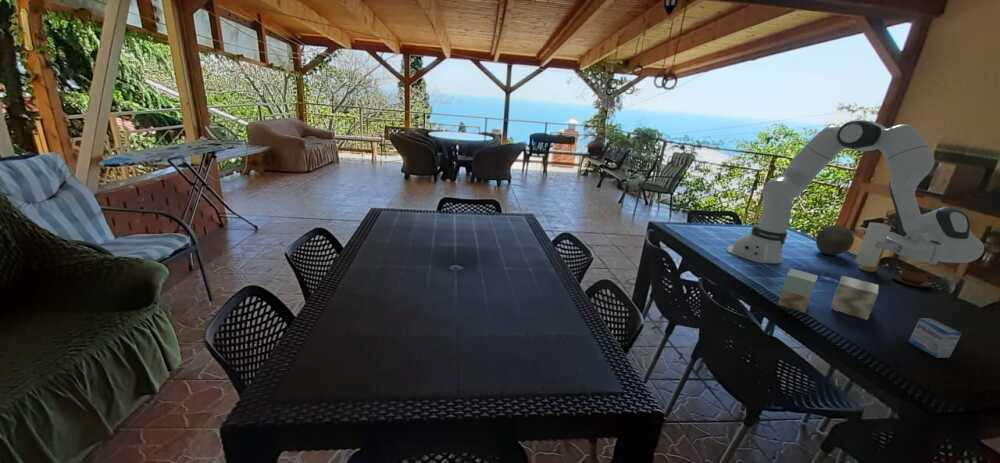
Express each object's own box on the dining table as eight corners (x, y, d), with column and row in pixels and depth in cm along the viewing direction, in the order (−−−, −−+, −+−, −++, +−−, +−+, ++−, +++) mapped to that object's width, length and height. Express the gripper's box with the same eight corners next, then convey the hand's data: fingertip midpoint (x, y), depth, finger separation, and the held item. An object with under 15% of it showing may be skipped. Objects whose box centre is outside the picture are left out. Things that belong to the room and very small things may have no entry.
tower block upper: (781, 289, 138) (786, 274, 136) (786, 283, 144) (791, 268, 142) (809, 298, 133) (815, 282, 131) (813, 290, 138) (818, 275, 136)
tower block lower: (777, 304, 140) (782, 289, 138) (781, 297, 145) (786, 283, 144) (804, 313, 135) (809, 298, 133) (808, 305, 140) (813, 290, 138)
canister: (854, 263, 133) (868, 224, 128) (855, 259, 137) (869, 221, 132) (875, 268, 129) (891, 228, 125) (875, 263, 133) (891, 225, 129)
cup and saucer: (918, 280, 167) (924, 267, 165) (937, 292, 156) (943, 278, 154) (884, 275, 171) (889, 262, 169) (900, 286, 160) (906, 272, 158)
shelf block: (830, 308, 139) (839, 283, 135) (832, 299, 145) (841, 275, 142) (867, 320, 132) (878, 293, 129) (868, 310, 139) (878, 284, 136)
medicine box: (907, 342, 120) (918, 317, 118) (920, 341, 121) (931, 317, 118) (936, 358, 113) (949, 332, 110) (950, 358, 113) (962, 332, 110)
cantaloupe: (805, 251, 195) (814, 223, 190) (822, 248, 200) (831, 220, 195) (837, 262, 183) (848, 232, 178) (854, 258, 188) (865, 229, 183)
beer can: (878, 273, 172) (891, 241, 167) (863, 271, 173) (875, 239, 168) (869, 267, 178) (881, 236, 173) (854, 266, 179) (865, 235, 174)
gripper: (897, 227, 137) (853, 223, 139) (949, 247, 118) (896, 243, 120) (890, 244, 139) (847, 240, 141) (940, 266, 120) (889, 261, 122)
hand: (870, 241), depth 131 cm, fingers closed on canister, 5 cm apart
